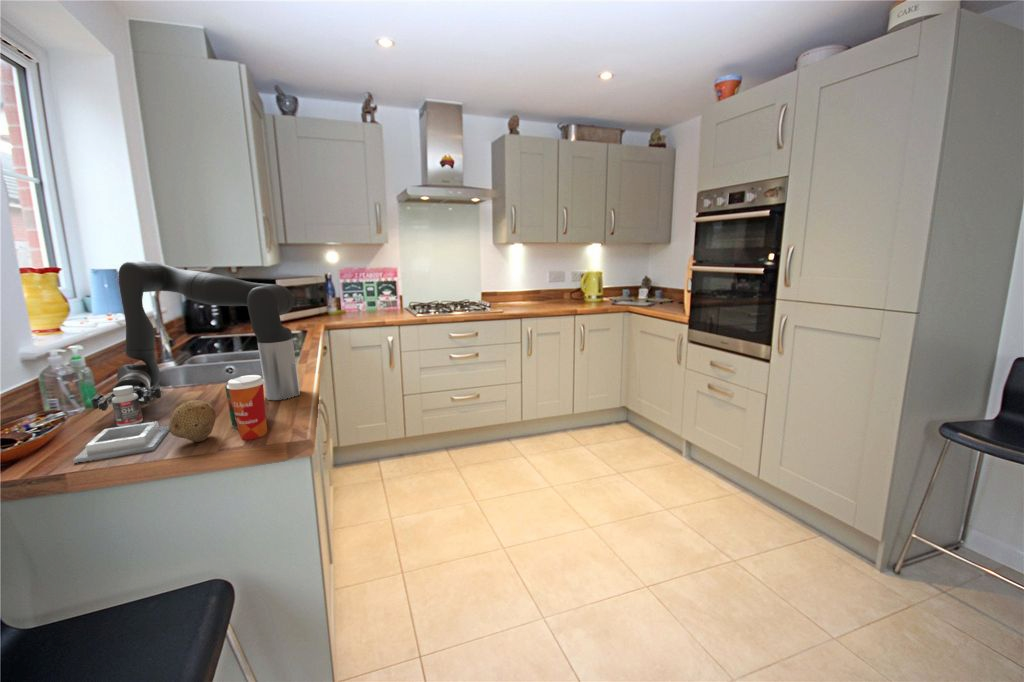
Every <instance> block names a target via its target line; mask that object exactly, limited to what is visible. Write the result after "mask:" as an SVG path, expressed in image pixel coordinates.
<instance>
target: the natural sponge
mask: <svg viewBox="0 0 1024 682" xmlns="http://www.w3.org/2000/svg"><path fill="white" fill-rule="evenodd" d="M216 416H217V415H216V410H215V408H214V407H213V405H211V404H210V403H208V402H206V401H204V400H199V399H198V400H197V399H196V400H187V401H185V402H183V403H182V404H180V405H178V406H177V407H176V408H175V410H174V411H173V413H172V415H171V417H170V420H169V424H168V425H169V432H170V434H171V435H172V436H173V437H176V438H181V439H186V440H189V441H190V442H195V443H200V442H203V441H205V440H206V439H207V438H208V437H209V436H211V434H212V431H213V429H214V427H215V422H216Z"/></svg>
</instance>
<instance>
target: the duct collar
mask: <svg viewBox="0 0 1024 682" xmlns="http://www.w3.org/2000/svg"><path fill="white" fill-rule="evenodd" d="M169 432H170V430H169V424H165V425H161V426H159V421H158V420H156V421H151V422H150V421H149V422H143V423H142V422H141V423H138V424H135V425H128V426H116V427H109V428H104V429H103V430H102V431H101V432H99V433H98V434H97V435H96V436H94V437H93V438H92V439H91V440H90V441H89V442H88V443H87V444H86V445H85V448H84V449H83V450H82V451H81V452H80V453H79V454H78V455H77V456H75V457H74V458H73V459H72V461H73V464H74V463H77V464H79V463H78V462H83V463H86V462H85V461H89V462H93V460H94V461H99V460H106V459H111V458H119V457H122V456H130V455H134V454H140V453H141V454H142V453H147V452H152V451H155V449H156V448H157V447H158V446H159V444H160V443H161V442H162V441H163V440H164V438H165V436H167V434H168V433H169Z"/></svg>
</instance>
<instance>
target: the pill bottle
mask: <svg viewBox="0 0 1024 682" xmlns="http://www.w3.org/2000/svg"><path fill="white" fill-rule="evenodd" d="M112 392H113V394H114V395H115V397H113V398H112V405H113V406H112V409H113V412H114V418H115V422H116V427H121V426H128V425H135V424H141V423H142V422H143V421H144V418H143V414H142V407H141V404H140V403H141V402H139V397H138V395H137V394H135V393H133V386H121V387H117V388H114V387H113V389H112Z"/></svg>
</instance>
